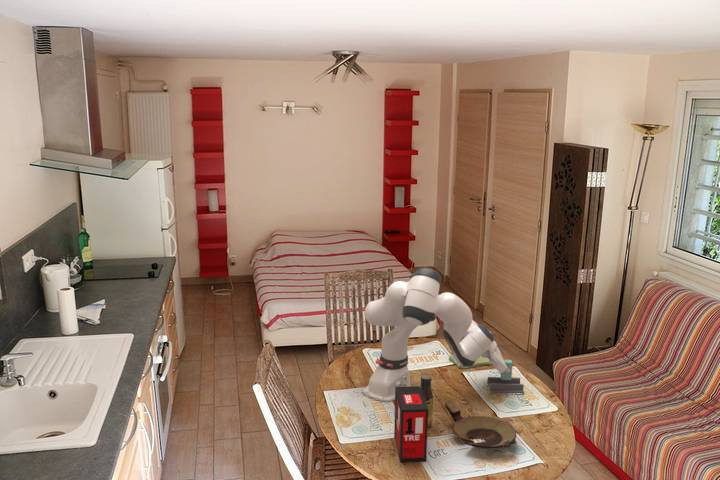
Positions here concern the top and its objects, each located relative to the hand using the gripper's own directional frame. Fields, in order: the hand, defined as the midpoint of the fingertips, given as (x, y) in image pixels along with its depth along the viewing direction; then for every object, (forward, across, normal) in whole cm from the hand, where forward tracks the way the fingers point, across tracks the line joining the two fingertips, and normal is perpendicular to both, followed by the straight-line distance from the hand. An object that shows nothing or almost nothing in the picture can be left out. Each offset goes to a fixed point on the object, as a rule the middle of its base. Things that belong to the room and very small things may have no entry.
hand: (507, 369), depth 255 cm
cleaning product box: (-24, -48, +38) cm, 65 cm away
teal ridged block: (+3, 0, +4) cm, 4 cm away
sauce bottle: (-20, -32, +33) cm, 50 cm away
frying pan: (-5, -39, +19) cm, 44 cm away
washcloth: (-2, +26, +16) cm, 31 cm away
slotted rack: (+6, 0, +7) cm, 9 cm away
